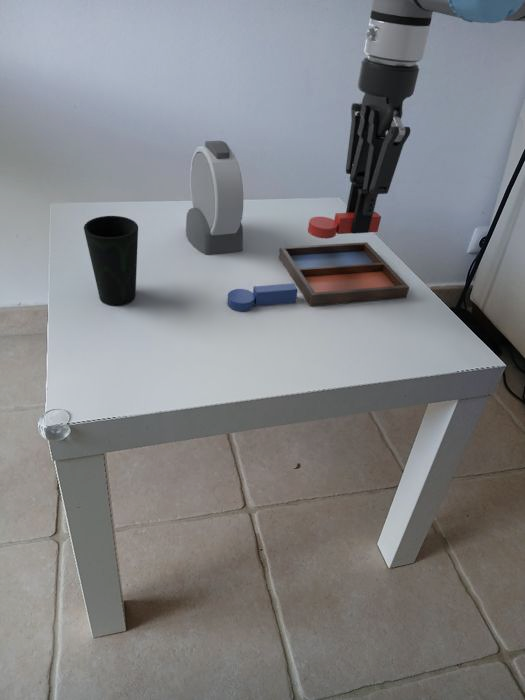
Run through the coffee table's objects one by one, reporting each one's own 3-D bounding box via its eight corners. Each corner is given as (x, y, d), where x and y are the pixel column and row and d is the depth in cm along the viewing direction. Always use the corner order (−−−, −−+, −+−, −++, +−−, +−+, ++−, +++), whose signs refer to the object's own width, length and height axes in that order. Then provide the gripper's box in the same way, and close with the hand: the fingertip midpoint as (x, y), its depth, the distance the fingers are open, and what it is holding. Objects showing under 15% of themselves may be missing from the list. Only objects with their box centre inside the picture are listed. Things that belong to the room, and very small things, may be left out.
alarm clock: (253, 254, 99) (261, 156, 88) (201, 260, 96) (203, 159, 84) (224, 219, 111) (228, 128, 100) (177, 223, 107) (176, 129, 96)
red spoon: (368, 223, 85) (372, 208, 84) (381, 235, 82) (385, 220, 81) (303, 226, 82) (305, 210, 81) (313, 239, 79) (316, 223, 77)
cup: (103, 281, 87) (96, 212, 80) (148, 287, 87) (144, 219, 79) (84, 305, 81) (74, 233, 74) (132, 313, 81) (127, 241, 73)
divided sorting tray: (364, 252, 104) (366, 242, 103) (406, 297, 92) (409, 287, 90) (278, 257, 99) (279, 247, 98) (310, 306, 87) (312, 295, 85)
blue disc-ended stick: (289, 292, 90) (291, 279, 88) (298, 306, 86) (300, 293, 85) (224, 298, 86) (225, 284, 85) (230, 312, 83) (231, 298, 82)
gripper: (341, 48, 73) (316, 209, 87) (393, 71, 62) (354, 252, 76) (389, 50, 75) (356, 208, 89) (448, 73, 64) (400, 249, 78)
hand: (355, 228), depth 83 cm, fingers closed on red spoon, 2 cm apart
